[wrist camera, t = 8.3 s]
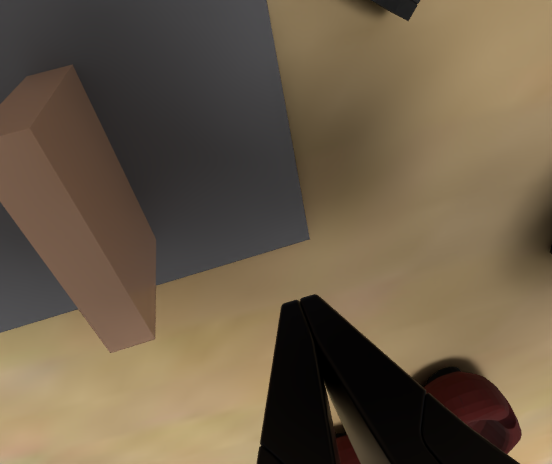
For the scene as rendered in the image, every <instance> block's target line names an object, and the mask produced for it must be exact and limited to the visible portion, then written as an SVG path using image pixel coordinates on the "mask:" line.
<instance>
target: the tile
mask: <svg viewBox="0 0 552 464" xmlns="http://www.w3.org/2000/svg"><path fill="white" fill-rule="evenodd" d="M0 202H1V203H2V205H3V206H4V208H5V209H6V210H7V212H8V213H9V214H10V216H11V217H12V219H13V220H14V221H15V223H16V224H17V225H18V227H19V228H20V230H21V231H22V232H23V234H24V235H25V236H26V238H27V239H28V241H29V242H30V243H31V245H32V246H33V247H34V249H35V250H36V251H37V253H38V254H39V256H40V257H41V258H42V260H43V261H44V262H45V264H46V265H47V267H48V268H49V269H50V271H51V272H52V273H53V275H54V276H55V278H56V279H57V280H58V282H59V283H60V284H61V286H62V287H63V289H64V290H65V291H66V293H67V294H68V295H69V297H70V298H71V300H72V301H73V302H74V304H75V305H76V306H77V308H78V309H79V311H80V312H81V313H82V315H83V316H84V317H85V319H86V320H87V322H88V323H89V324H90V326H91V327H92V328H93V330H94V331H95V333H96V334H97V335H98V337H99V338H100V339H101V341H102V342H103V344H104V345H105V346H106V348H107V349H108V350H109V352H110V353H112V352H116V351H119V350H122V349H125V348H128V347H132V346H135V345H138V344H141V343H145V342H148V341H151V340H154V339H155V319H156V238H155V236H154V234H153V232H152V230H151V228H150V226H149V223H148V221H147V219H146V217H145V215H144V213H143V211H142V209H141V207H140V205H139V203H138V200H137V198H136V196H135V194H134V192H133V190H132V188H131V186H130V184H129V182H128V180H127V177H126V175H125V173H124V171H123V169H122V167H121V165H120V163H119V161H118V159H117V157H116V154H115V152H114V150H113V148H112V146H111V144H110V142H109V140H108V138H107V136H106V134H105V131H104V129H103V127H102V125H101V123H100V121H99V119H98V117H97V115H96V113H95V111H94V108H93V106H92V104H91V102H90V100H89V98H88V96H87V94H86V92H85V90H84V88H83V85H82V83H81V81H80V79H79V77H78V75H77V73H76V71H75V69H74V67H73V64H72V65H68V66H65V67H61V68H57V69H53V70H49V71H45V72H41V73H38V74H34V75H30V76H26V77H25V79H24V80H23V81H22V82H21V83H20V84H19V85H18V86H17V87H16V88H15V89H14V90H13V91H12V92H11V93H10V94H9V95H8V97H7V98H6V99H5V100H4V101H3V102H2V103H1V104H0Z"/></svg>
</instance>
